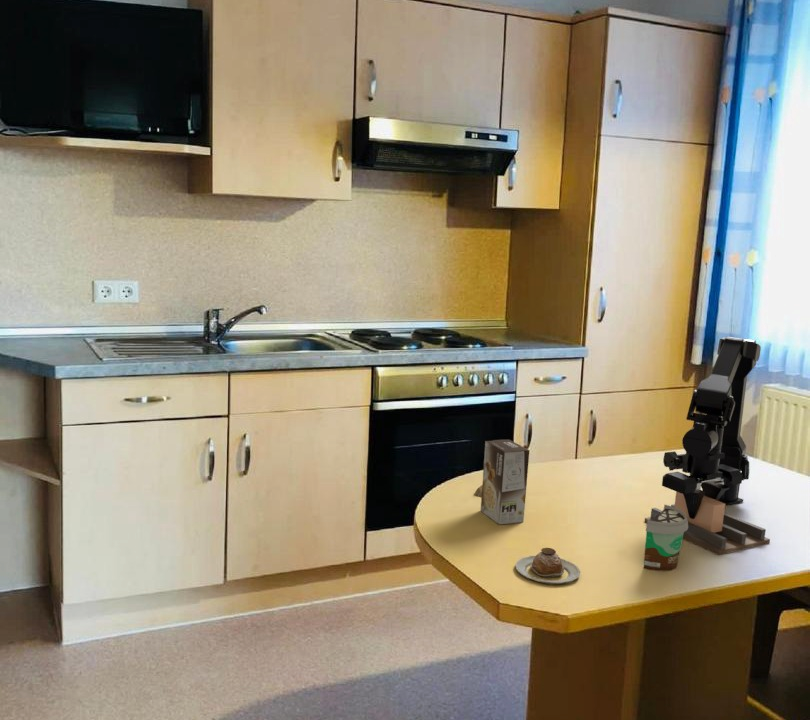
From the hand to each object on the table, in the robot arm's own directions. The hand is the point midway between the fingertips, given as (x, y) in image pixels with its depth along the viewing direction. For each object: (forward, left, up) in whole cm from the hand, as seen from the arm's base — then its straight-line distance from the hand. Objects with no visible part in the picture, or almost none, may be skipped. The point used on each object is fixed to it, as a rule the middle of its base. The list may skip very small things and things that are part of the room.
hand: (697, 517), depth 187 cm
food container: (+19, +9, -4) cm, 21 cm away
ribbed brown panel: (-3, 0, -4) cm, 5 cm away
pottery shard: (+24, -35, -4) cm, 43 cm away
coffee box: (+33, -25, -4) cm, 42 cm away
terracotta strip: (0, 0, -2) cm, 2 cm away
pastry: (+43, +2, -4) cm, 43 cm away
